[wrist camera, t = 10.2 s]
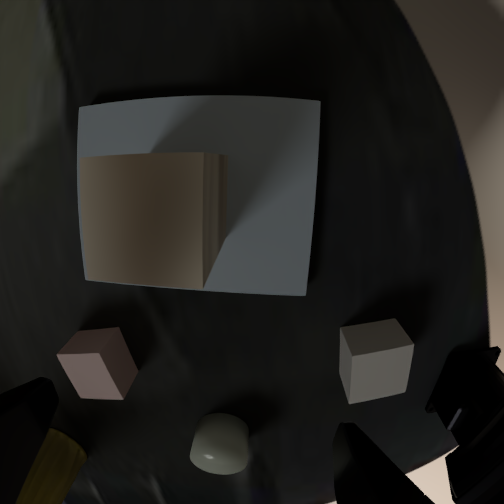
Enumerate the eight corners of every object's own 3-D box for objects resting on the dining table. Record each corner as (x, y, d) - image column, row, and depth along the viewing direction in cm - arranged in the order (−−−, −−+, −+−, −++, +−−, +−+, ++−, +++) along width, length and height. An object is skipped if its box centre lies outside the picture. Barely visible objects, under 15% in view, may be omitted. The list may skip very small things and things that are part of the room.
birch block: (228, 155, 16) (203, 152, 9) (225, 238, 17) (203, 289, 10) (147, 155, 16) (79, 157, 9) (148, 234, 17) (88, 279, 11)
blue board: (317, 104, 16) (320, 101, 15) (303, 289, 19) (305, 296, 18) (87, 109, 16) (79, 107, 15) (92, 274, 19) (85, 279, 18)
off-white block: (394, 317, 20) (414, 344, 16) (389, 362, 21) (405, 391, 17) (339, 326, 20) (352, 356, 16) (339, 372, 21) (349, 404, 18)
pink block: (119, 326, 20) (99, 353, 17) (139, 370, 22) (123, 399, 18) (78, 330, 21) (56, 354, 17) (98, 371, 22) (80, 398, 19)
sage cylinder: (249, 414, 22) (248, 447, 19) (248, 445, 24) (246, 476, 20) (195, 410, 22) (187, 441, 19) (198, 441, 24) (192, 471, 20)
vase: (38, 419, 25) (-17, 503, 11) (81, 438, 25) (31, 535, 11) (52, 449, 27) (8, 526, 13) (92, 466, 27) (54, 552, 13)
